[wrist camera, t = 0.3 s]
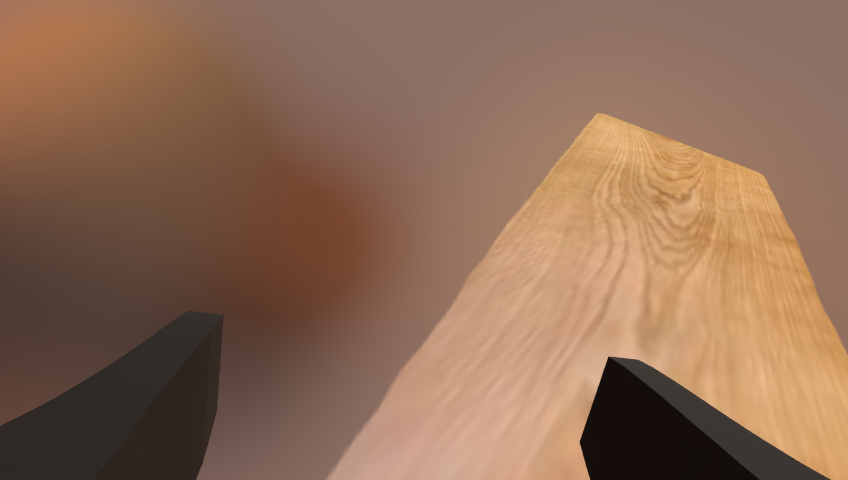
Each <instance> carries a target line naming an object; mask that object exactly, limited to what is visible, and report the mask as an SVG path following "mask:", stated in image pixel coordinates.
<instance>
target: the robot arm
mask: <svg viewBox="0 0 848 480" xmlns="http://www.w3.org/2000/svg"><path fill="white" fill-rule="evenodd" d="M222 327H223V315H219V314H210V313H201V312H192V311H187V312H185V313H184V314H182V315H181V316H179V317H178V318H176V319H175V320H174V321H172V322H171V323H169V324H168V325H166V326H165V327H164V328H162V329H161V330H159V331H158V332H157V333H155V334H154V335H153V336H151V337H150V338H148V339H147V340H145V341H144V342H143V343H141V344H140V345H138V346H137V347H136V348H134V349H133V350H131V351H130V352H128V353H127V354H125V355H124V356H122V357H121V358H120V359H118V360H116V361H115V362H114V363H112V364H111V365H109V366H107V367H106V368H104V369H102V370H101V371H99V372H98V373H96V374H94V375H93V376H91V377H89V378H88V379H86V380H85V381H83V382H81V383H80V384H78V385H76V386H75V387H73V388H71V389H70V390H68V391H66V392H65V393H63V394H61V395H60V396H58V397H56V398H54V399H52V400H50V401H49V402H47V403H45V404H43V405H41V406H39V407H37V408H35V409H34V410H32V411H30V412H28V413H26V414H24V415H22V416H20V417H18V418H16V419H13V420H11V421H9V422H7V423H5V424H3V425H1V426H0V480H196V478H197V476H198V473H199V470H200V468H201V466H202V463H203V460H204V456H205V452H206V449H207V446H208V442H209V438H210V435H211V431H212V427H213V423H214V420H215V416H216V412H217V399H218V386H219V372H220V358H221V343H222ZM580 445H581V449H582V452H583V456H584V460H585V463H586V467H587V470H588V473H589V477H590V480H830V479H829V478H827V477H825V476H823V475H821V474H819V473H818V472H816V471H814V470H812V469H811V468H809V467H807V466H805V465H804V464H802V463H800V462H799V461H797V460H795V459H794V458H792V457H790V456H789V455H787V454H785V453H784V452H782V451H781V450H779V449H777V448H776V447H774V446H772V445H771V444H769V443H768V442H766V441H764V440H763V439H761V438H760V437H758V436H756V435H755V434H753V433H752V432H750V431H749V430H747V429H746V428H744V427H742V426H741V425H739V424H738V423H736V422H735V421H733V420H732V419H730V418H729V417H727V416H726V415H724V414H723V413H721V412H720V411H718V410H717V409H715V408H714V407H712V406H711V405H709V404H708V403H706V402H705V401H703V400H702V399H700V398H699V397H698V396H696V395H695V394H693V393H692V392H690V391H689V390H687V389H686V388H684V387H683V386H681V385H680V384H678V383H677V382H675V381H673V380H672V379H670V378H669V377H667V376H666V375H664V374H662V373H661V372H659V371H658V370H656V369H654V368H653V367H651V366H649V365H647V364H645V363H643V362H641V361H639V360H636V359H626V358H617V357H608V360H607V363H606V366H605V368H604V371H603V374H602V377H601V380H600V383H599V386H598V389H597V392H596V395H595V398H594V401H593V404H592V407H591V410H590V413H589V416H588V419H587V422H586V425H585V428H584V431H583V434H582V437H581V440H580Z"/></svg>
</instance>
